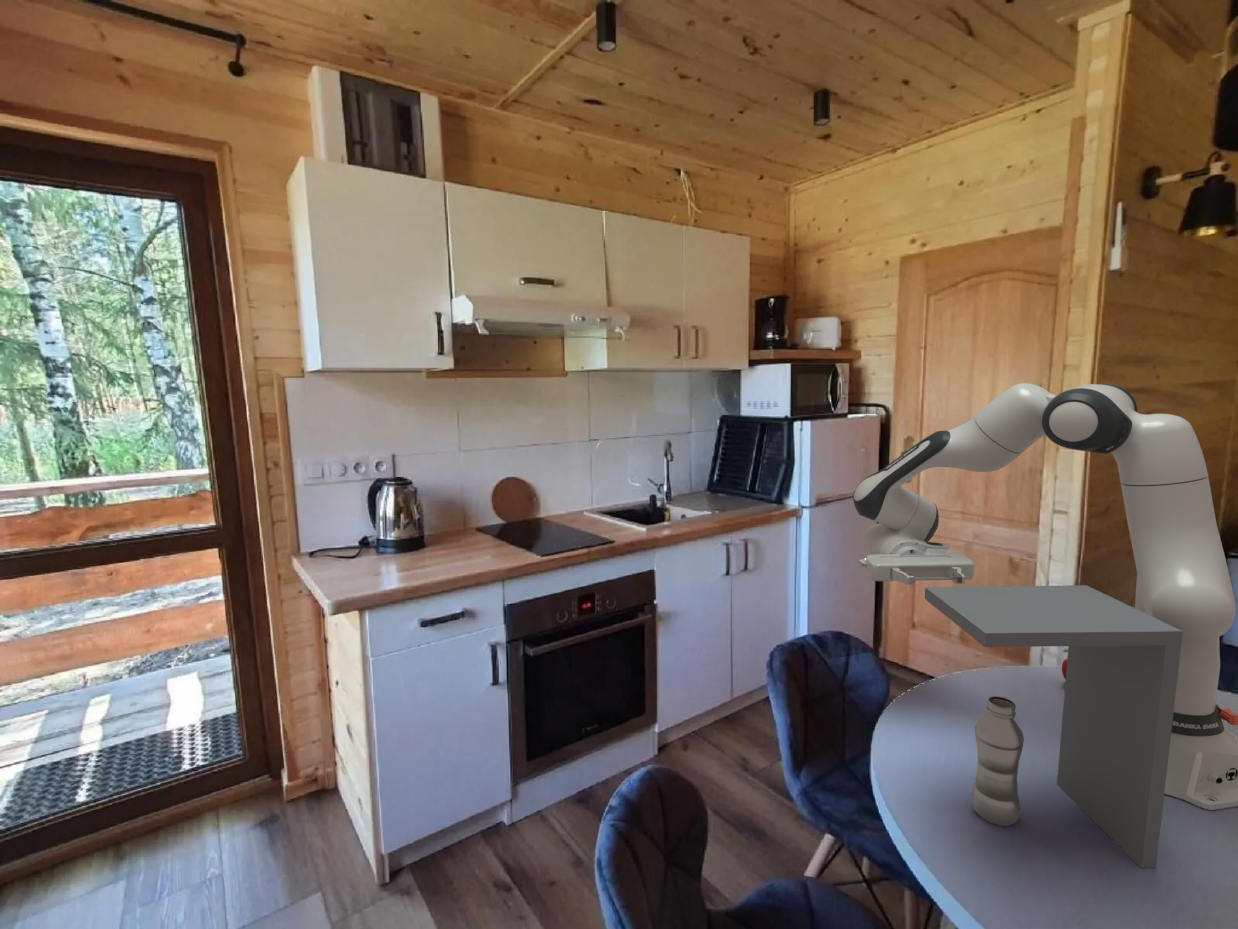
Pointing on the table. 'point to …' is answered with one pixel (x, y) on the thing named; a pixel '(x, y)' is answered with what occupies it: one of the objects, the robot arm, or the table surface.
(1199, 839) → the table surface
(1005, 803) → the plastic bottle
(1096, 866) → the table surface
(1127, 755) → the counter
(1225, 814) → the table surface
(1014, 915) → the table surface
